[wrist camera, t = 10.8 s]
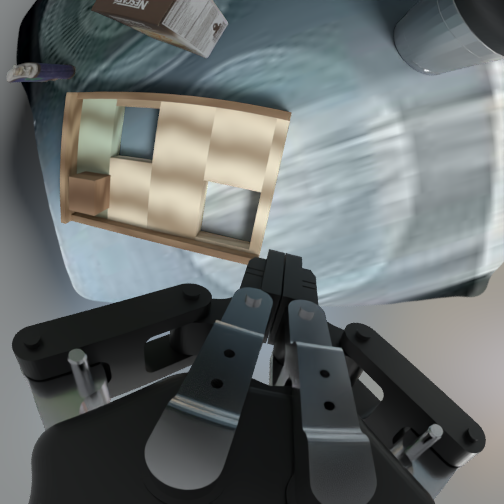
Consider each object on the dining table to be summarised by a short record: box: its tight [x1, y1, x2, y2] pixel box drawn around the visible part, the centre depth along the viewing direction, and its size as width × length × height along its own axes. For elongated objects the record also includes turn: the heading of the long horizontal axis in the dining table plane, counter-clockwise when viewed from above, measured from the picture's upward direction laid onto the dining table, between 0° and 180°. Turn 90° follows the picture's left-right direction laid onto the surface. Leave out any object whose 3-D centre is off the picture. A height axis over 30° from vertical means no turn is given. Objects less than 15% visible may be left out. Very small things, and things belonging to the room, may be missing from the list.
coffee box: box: [91, 0, 228, 58], centre depth 23 cm, size 9×6×16 cm
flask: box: [7, 62, 75, 82], centre depth 29 cm, size 9×3×11 cm, turn 78°
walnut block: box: [69, 171, 111, 216], centre depth 37 cm, size 5×5×4 cm
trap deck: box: [60, 92, 291, 265], centre depth 37 cm, size 20×31×6 cm, turn 79°
